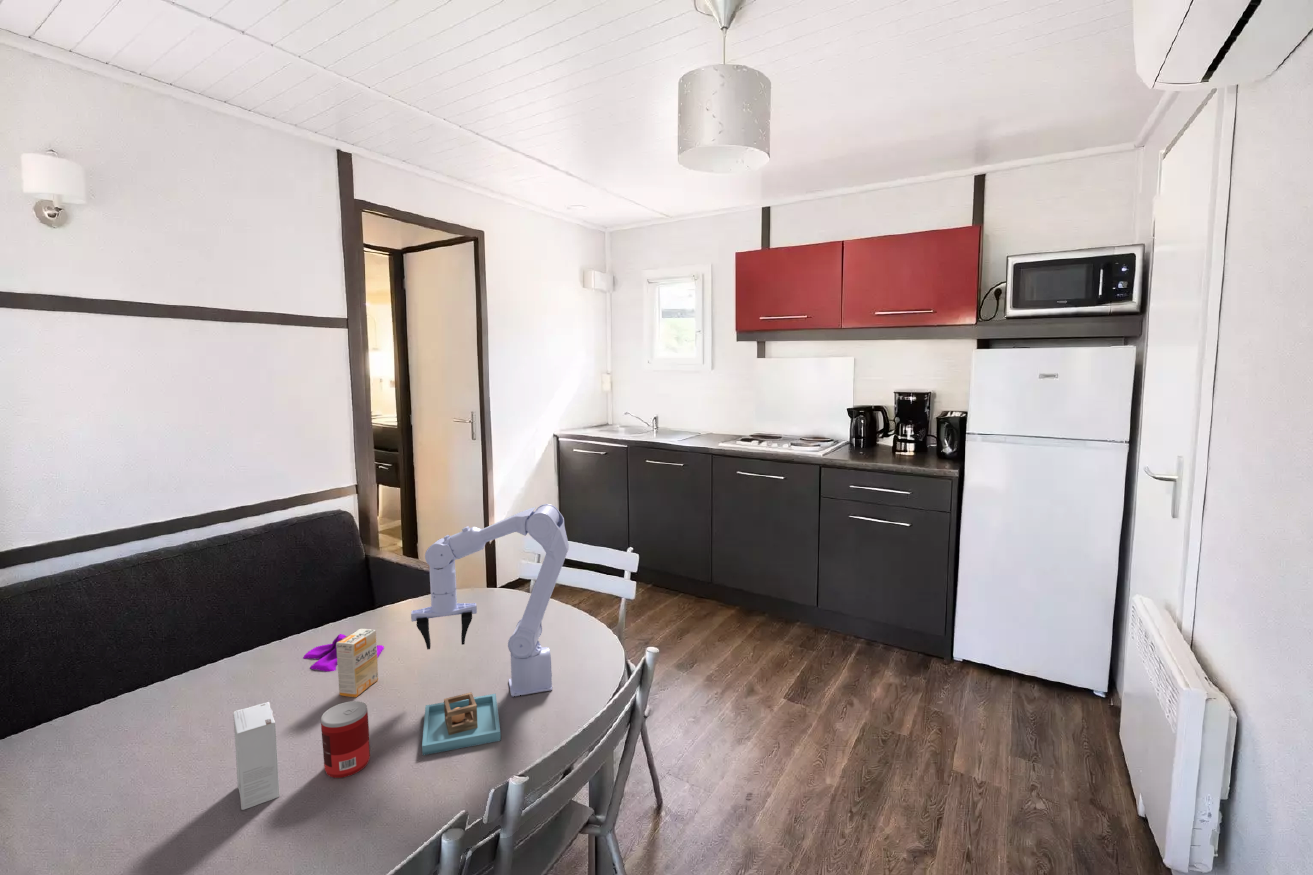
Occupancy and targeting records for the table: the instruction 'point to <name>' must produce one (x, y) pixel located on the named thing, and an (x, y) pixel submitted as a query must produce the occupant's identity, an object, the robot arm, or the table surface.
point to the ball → (458, 717)
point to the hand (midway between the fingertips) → (446, 645)
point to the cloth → (329, 655)
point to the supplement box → (357, 662)
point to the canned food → (345, 739)
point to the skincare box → (256, 755)
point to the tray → (485, 733)
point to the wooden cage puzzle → (470, 713)
